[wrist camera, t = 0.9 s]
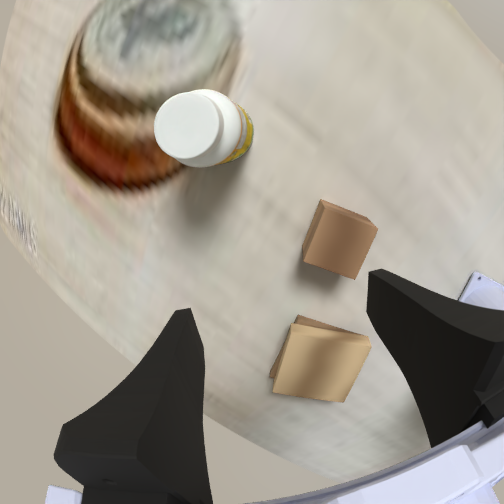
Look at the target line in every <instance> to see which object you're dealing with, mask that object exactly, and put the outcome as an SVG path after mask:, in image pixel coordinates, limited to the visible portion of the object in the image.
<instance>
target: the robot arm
mask: <svg viewBox="0 0 504 504" xmlns="http://www.w3.org/2000/svg"><path fill="white" fill-rule="evenodd" d="M478 277H479V279H478ZM366 312H367V314H368V316H369V319H370V321H371V323H372V325H373V327H374V329H375V331H376V332H377V334H378V336H379V337H380V339H381V340H382V342H383V343H384V345H385V346H386V348H387V349H388V351H389V352H390V354H391V355H392V357H393V358H394V360H395V361H396V363H397V364H398V366H399V367H400V369H401V371H402V373H403V374H404V376H405V378H406V380H407V383H408V385H409V387H410V389H411V391H412V393H413V396H414V398H415V401H416V403H417V405H418V408H419V411H420V413H421V416H422V419H423V422H424V425H425V428H426V431H427V434H428V438H429V442H430V445H431V449H429V450H427V451H425V452H423V453H421V454H419V455H417V456H414V457H412V458H410V459H408V460H405V461H403V462H401V463H398V464H396V465H394V466H391V467H389V468H386V469H383V470H381V471H378V472H375V473H373V474H370V475H367V476H364V477H361V478H358V479H355V480H352V481H349V482H346V483H342V484H339V485H335V486H332V487H328V488H325V489H321V490H317V491H313V492H308V493H304V494H300V495H295V496H290V497H285V498H280V499H273V500H267V501H261V502H253V503H245V504H500V503H499V501H498V499H497V497H496V495H495V493H494V491H493V489H492V486H494V485H495V484H496V483H498V482H499V481H500V480H502V479H503V478H504V286H503V285H501V284H500V283H498V282H496V281H494V280H492V279H490V278H488V277H486V276H484V275H482V274H481V273H479V272H474V273H473V274H472V276H471V278H470V280H469V282H468V284H467V286H466V288H465V290H464V291H463V293H462V295H461V297H460V299H459V301H457V300H454V299H451V298H448V297H445V296H443V295H440V294H438V293H435V292H433V291H430V290H428V289H426V288H424V287H421V286H419V285H417V284H415V283H413V282H411V281H408V280H406V279H404V278H402V277H400V276H398V275H396V274H393V273H391V272H389V271H386V270H384V269H378V270H374V271H370V272H369V276H368V296H367V311H366ZM204 379H205V360H204V347H203V344H202V341H201V338H200V335H199V332H198V329H197V326H196V323H195V320H194V317H193V314H192V311H191V308H187V309H181V310H176V311H175V312H174V314H173V315H172V317H171V318H170V320H169V321H168V323H167V324H166V326H165V327H164V329H163V331H162V332H161V334H160V335H159V337H158V338H157V340H156V341H155V343H154V344H153V346H152V347H151V348H150V350H149V351H148V352H147V354H146V355H145V356H144V358H143V359H142V360H141V361H140V363H139V364H138V365H137V366H136V367H135V369H134V370H133V371H132V372H131V373H130V374H129V375H128V376H127V377H126V378H125V379H124V380H123V381H122V382H121V383H120V384H119V385H118V386H117V387H116V388H114V389H113V390H112V391H111V392H110V393H109V394H108V395H107V396H105V397H104V398H103V399H102V400H100V401H99V402H98V403H97V404H95V405H94V406H92V407H91V408H90V409H88V410H87V411H85V412H84V413H82V414H80V415H79V416H77V417H76V418H74V419H72V420H70V421H69V422H67V423H65V424H63V426H62V429H61V432H60V435H59V439H58V442H57V445H56V449H55V452H54V459H55V461H56V462H57V464H58V466H59V467H60V468H62V469H63V470H64V471H65V472H66V473H67V474H69V475H70V476H72V477H73V478H74V479H75V480H77V481H78V482H79V483H81V484H82V485H84V489H83V493H81V492H79V491H76V490H72V489H68V488H63V487H59V486H54V485H49V487H48V491H47V496H46V500H45V504H213V500H212V495H211V489H210V484H209V477H208V471H207V463H206V455H205V445H204V433H203V398H204Z"/></svg>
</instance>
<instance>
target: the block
mask: <svg viewBox="0 0 504 504" xmlns="http://www.w3.org/2000/svg"><path fill="white" fill-rule="evenodd" d="M377 231H378V228H377V227H376V226H375V225H374V224H373V223H372V222H371V221H370V220H369V219H368V218H367V217H364V216H362V215H359V214H357V213H355V212H352V211H350V210H347V209H345V208H342V207H340V206H337V205H334V204H332V203H329V202H327V201H324V200H322V199H320V202H319V204H318V207H317V210H316V212H315V215H314V217H313V220H312V223H311V225H310V228H309V230H308V233H307V235H306V238H305V240H304V243H303V245H302V248H303V261H304V262H307V263H309V264H312V265H315V266H318V267H321V268H323V269H326V270H329V271H332V272H335V273H337V274H340V275H343V276H346V277H348V278H351V279H354V280H355V279H356V277H357V275H358V272H359V270H360V268H361V266H362V264H363V262H364V260H365V258H366V255H367V253H368V251H369V249H370V247H371V244H372V242H373V240H374V238H375V235H376V233H377Z"/></svg>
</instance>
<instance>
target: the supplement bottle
mask: <svg viewBox="0 0 504 504" xmlns="http://www.w3.org/2000/svg"><path fill="white" fill-rule="evenodd" d="M154 134H155V138H156V141H157V143H158V145H159V146H160V148H161V149H162V150H163V151H164V152H165V153H166V154H168V155H170V156H172V157H174V158H175V159H176V160H178V161H179V162H181V163H183V164H185V165H188V166H191V167H209V166H213V165H218V164H222V163H227V162H231V161H233V160H235V159H237V158H239V157H240V156H242V155H243V154H244V153H245V152H246V151H247V150H248V149H249V147H250V145H251V143H252V140H253V136H254V128H253V123H252V120H251V118H250V116H249V115H248V113H247V112H246V111H245V110H244V109H243V108H242V107H240V106H239V105H238V104H236V103H235V102H233V101H232V100H231V99H229V98H228V97H226V96H225V95H223V94H221V93H219V92H216V91H213V90H207V89H201V90H194V91H191V92H185V93H180V94H177V95H175V96H173V97H171V98H170V99H168V100H167V101H166V102H165V103H164V104H163V105H162V106H161V108H160V109H159V111H158V113H157V115H156V118H155V122H154Z"/></svg>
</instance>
